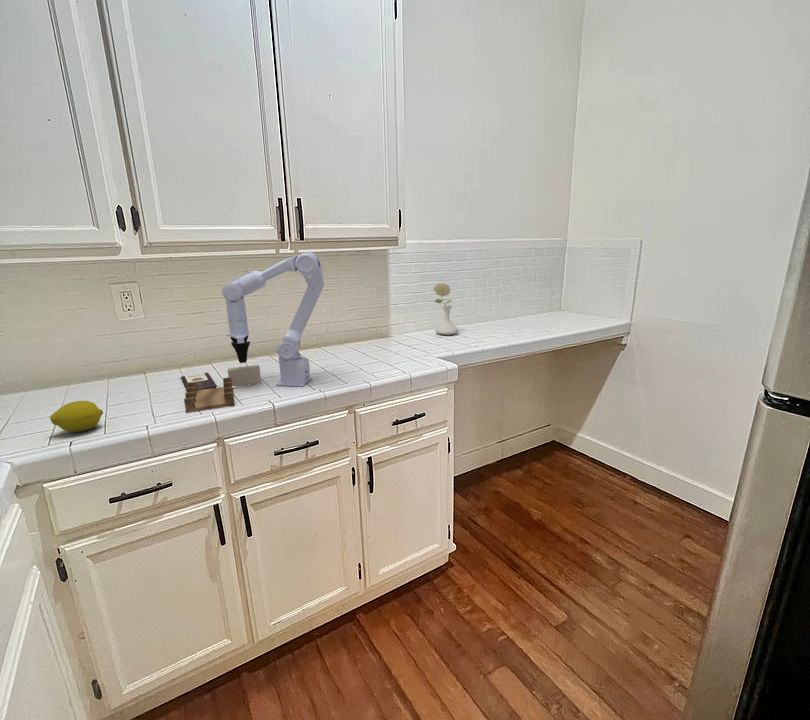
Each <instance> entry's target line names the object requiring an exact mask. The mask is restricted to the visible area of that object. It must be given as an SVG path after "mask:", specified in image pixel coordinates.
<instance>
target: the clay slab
mask: <svg viewBox="0 0 810 720" xmlns="http://www.w3.org/2000/svg"><path fill="white" fill-rule="evenodd" d="M260 369H261V367H260V364H254V365H253V364H252V365H246V366H245V365H244V366H237V367H228V368H227V378H228V377H231V380H232V386H237V387H242V386H241V385H244V386H249V385H248V384H252V385H255V384H254V383H259V384H262V376H261V370H260Z"/></svg>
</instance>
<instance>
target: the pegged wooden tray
mask: <svg viewBox="0 0 810 720" xmlns="http://www.w3.org/2000/svg"><path fill="white" fill-rule="evenodd" d="M222 380H223V381H222V382H223V383H222V385H223V386H221V387H220V386H219V387H217V388H211V389H204V390H197V386H196V382H189V383H187V386H188V387H187V388H186V389H185V390H186V392H185V393H184V395H185V398H184V399H183V401H184V408H185V413H186V414H188V413H193V412H201V411H205V410H207V409H208V410H213V409H220V408H221V409H222V408H228V407H234V406H235V405H236V404H235V397H234V387H232V380H231V377H228V376H227V377H223V378H222Z"/></svg>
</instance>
